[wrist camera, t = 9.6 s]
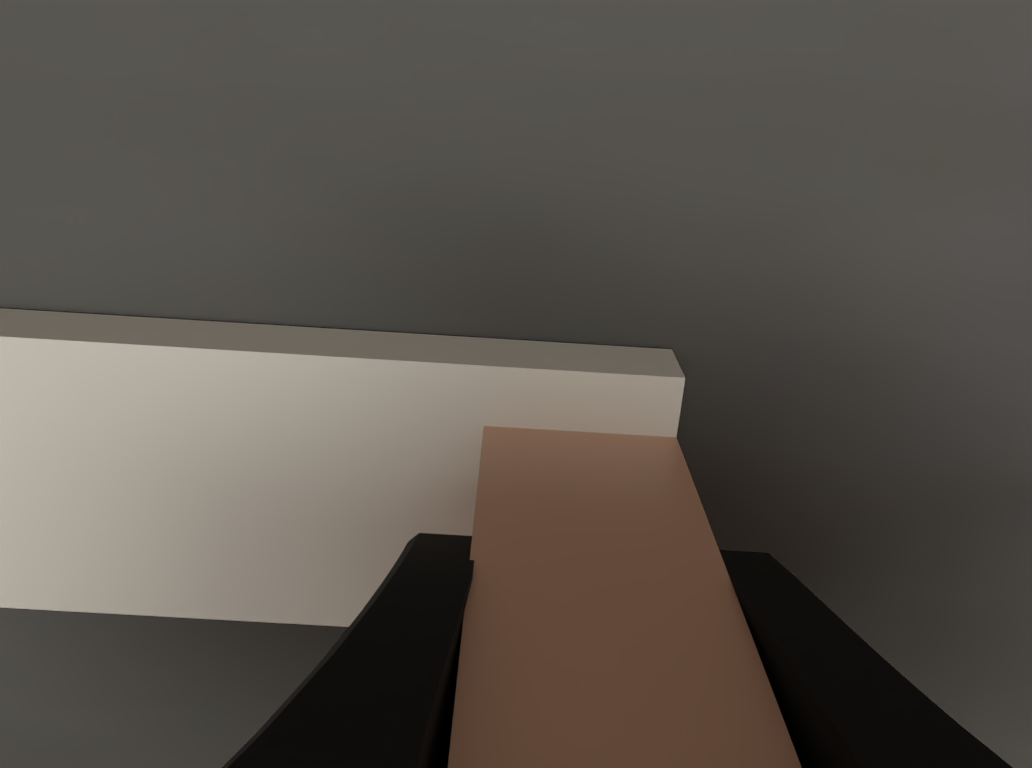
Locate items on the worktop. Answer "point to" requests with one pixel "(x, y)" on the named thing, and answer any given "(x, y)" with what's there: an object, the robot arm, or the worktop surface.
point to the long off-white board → (394, 515)
